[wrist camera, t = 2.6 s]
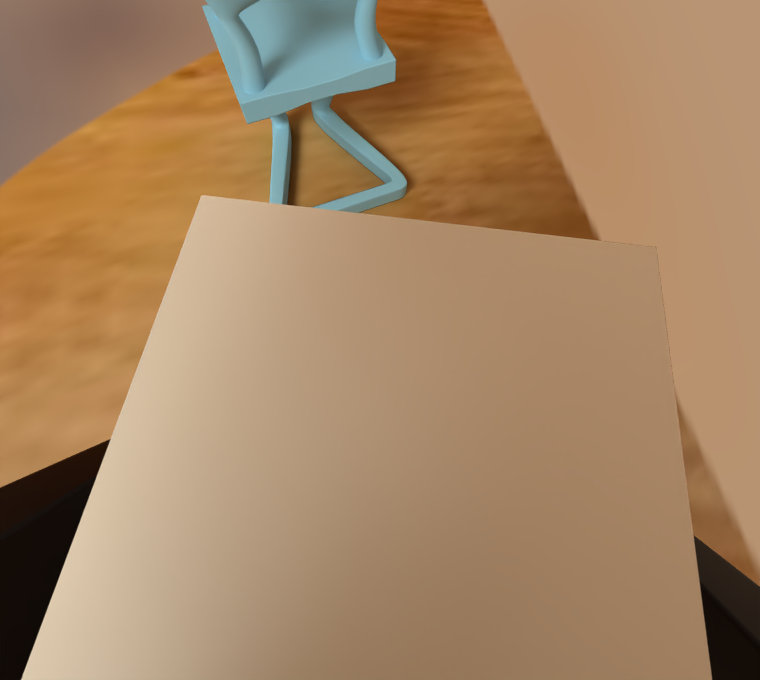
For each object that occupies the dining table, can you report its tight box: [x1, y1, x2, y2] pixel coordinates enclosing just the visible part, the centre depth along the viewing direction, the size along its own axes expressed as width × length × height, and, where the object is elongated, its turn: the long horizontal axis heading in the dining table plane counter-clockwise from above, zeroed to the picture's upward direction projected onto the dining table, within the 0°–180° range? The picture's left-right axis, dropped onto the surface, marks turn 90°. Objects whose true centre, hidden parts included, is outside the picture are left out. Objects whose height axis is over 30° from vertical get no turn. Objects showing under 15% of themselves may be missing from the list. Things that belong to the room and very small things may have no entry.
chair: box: [202, 0, 407, 213], centre depth 17 cm, size 8×8×12 cm
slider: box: [21, 195, 712, 680], centre depth 9 cm, size 6×5×14 cm
